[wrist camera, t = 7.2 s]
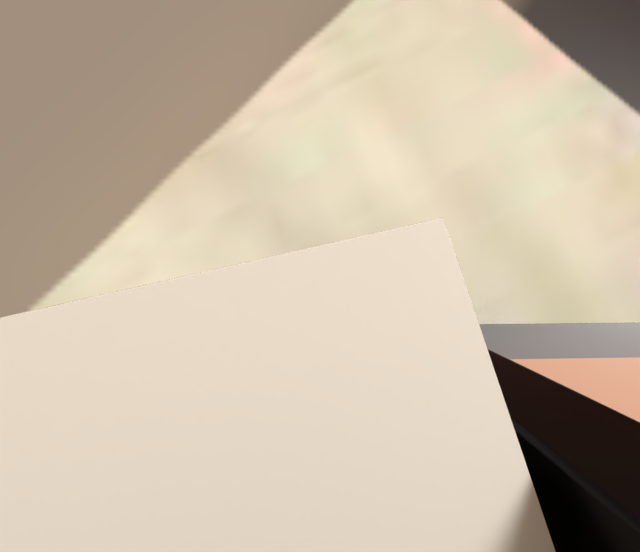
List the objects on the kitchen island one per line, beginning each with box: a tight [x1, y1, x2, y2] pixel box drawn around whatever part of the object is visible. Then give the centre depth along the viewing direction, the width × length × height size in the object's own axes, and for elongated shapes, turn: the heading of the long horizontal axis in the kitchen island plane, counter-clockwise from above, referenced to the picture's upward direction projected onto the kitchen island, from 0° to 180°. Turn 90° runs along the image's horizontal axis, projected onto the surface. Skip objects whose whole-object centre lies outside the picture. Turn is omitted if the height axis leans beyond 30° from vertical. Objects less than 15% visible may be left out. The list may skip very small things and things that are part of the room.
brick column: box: [0, 218, 556, 552], centre depth 10 cm, size 5×5×10 cm
